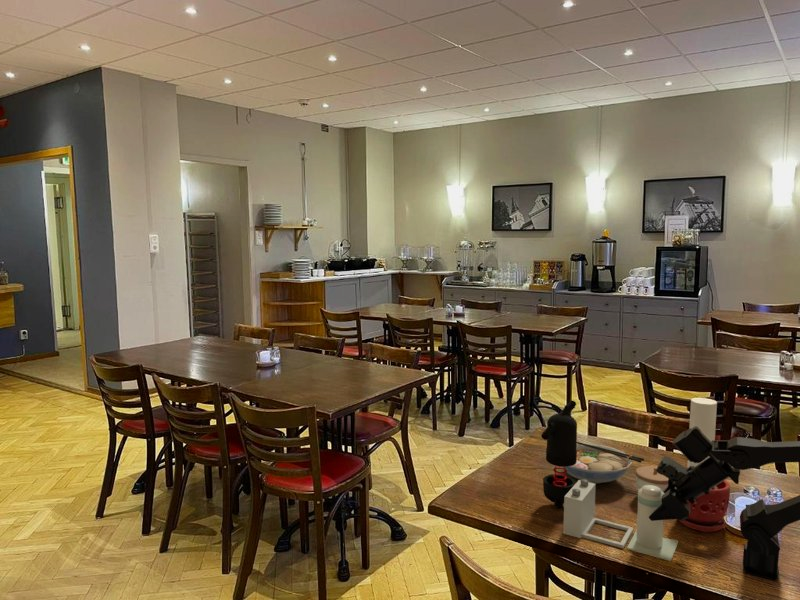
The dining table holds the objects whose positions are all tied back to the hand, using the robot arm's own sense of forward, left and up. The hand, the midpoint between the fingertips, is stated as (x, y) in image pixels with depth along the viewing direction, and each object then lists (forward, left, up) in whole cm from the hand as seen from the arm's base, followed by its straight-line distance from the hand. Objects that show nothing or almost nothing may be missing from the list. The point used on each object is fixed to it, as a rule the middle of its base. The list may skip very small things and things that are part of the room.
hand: (652, 511), depth 149 cm
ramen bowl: (+24, -32, -9) cm, 41 cm away
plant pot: (-8, -19, -9) cm, 22 cm away
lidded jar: (+5, -28, -9) cm, 30 cm away
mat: (0, 0, -9) cm, 9 cm away
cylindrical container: (-4, -50, -9) cm, 51 cm away
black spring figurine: (+27, -7, -9) cm, 29 cm away
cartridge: (+1, 0, -8) cm, 8 cm away
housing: (+13, 0, -9) cm, 15 cm away
